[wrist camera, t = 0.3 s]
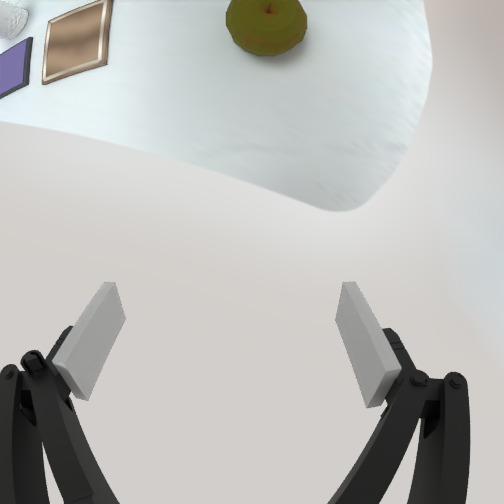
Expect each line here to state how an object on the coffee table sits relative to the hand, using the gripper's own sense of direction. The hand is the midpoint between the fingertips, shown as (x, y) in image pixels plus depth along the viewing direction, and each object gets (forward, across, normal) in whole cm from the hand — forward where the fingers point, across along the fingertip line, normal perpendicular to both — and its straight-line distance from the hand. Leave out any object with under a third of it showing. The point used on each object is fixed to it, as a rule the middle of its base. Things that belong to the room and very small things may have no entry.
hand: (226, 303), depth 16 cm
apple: (+28, +4, +23) cm, 37 cm away
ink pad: (+28, -42, +28) cm, 58 cm away
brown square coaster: (+28, -26, +28) cm, 47 cm away
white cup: (+28, -43, +39) cm, 65 cm away
